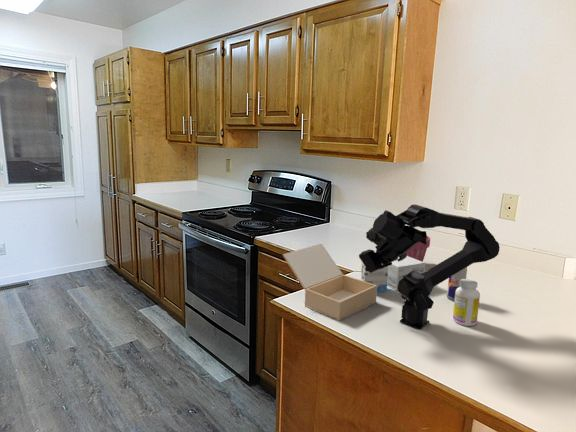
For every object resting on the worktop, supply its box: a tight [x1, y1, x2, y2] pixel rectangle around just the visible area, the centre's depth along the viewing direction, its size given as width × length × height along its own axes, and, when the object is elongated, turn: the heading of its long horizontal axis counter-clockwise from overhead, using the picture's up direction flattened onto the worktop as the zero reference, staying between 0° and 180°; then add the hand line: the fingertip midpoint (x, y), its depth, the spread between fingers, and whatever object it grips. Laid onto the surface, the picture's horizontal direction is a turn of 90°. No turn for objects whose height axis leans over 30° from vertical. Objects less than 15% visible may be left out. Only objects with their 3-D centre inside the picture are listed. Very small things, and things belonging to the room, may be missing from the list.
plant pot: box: [407, 235, 431, 262], centre depth 168 cm, size 14×14×13 cm
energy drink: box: [446, 267, 468, 302], centre depth 132 cm, size 5×5×12 cm
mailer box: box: [304, 274, 378, 322], centre depth 127 cm, size 14×20×6 cm
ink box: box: [360, 261, 388, 293], centre depth 139 cm, size 8×5×15 cm, turn 96°
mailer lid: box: [282, 243, 344, 291], centre depth 134 cm, size 14×20×1 cm
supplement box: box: [387, 256, 426, 292], centre depth 149 cm, size 17×13×9 cm
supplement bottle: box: [452, 278, 481, 327], centre depth 116 cm, size 7×7×13 cm
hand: (366, 269), depth 121 cm, fingers closed
